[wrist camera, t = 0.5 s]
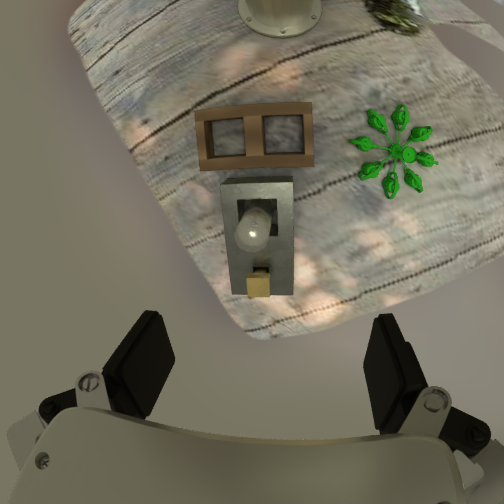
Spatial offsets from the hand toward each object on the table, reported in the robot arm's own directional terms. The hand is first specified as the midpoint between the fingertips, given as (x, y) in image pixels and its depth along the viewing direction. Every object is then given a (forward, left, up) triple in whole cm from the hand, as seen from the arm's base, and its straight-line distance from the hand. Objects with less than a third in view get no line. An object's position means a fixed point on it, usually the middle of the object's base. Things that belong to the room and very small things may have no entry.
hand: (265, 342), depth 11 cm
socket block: (+8, -4, -33) cm, 34 cm away
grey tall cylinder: (+4, -4, -33) cm, 33 cm away
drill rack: (-8, -4, -33) cm, 34 cm away
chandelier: (-6, +17, -34) cm, 38 cm away
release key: (+13, -4, -31) cm, 33 cm away
